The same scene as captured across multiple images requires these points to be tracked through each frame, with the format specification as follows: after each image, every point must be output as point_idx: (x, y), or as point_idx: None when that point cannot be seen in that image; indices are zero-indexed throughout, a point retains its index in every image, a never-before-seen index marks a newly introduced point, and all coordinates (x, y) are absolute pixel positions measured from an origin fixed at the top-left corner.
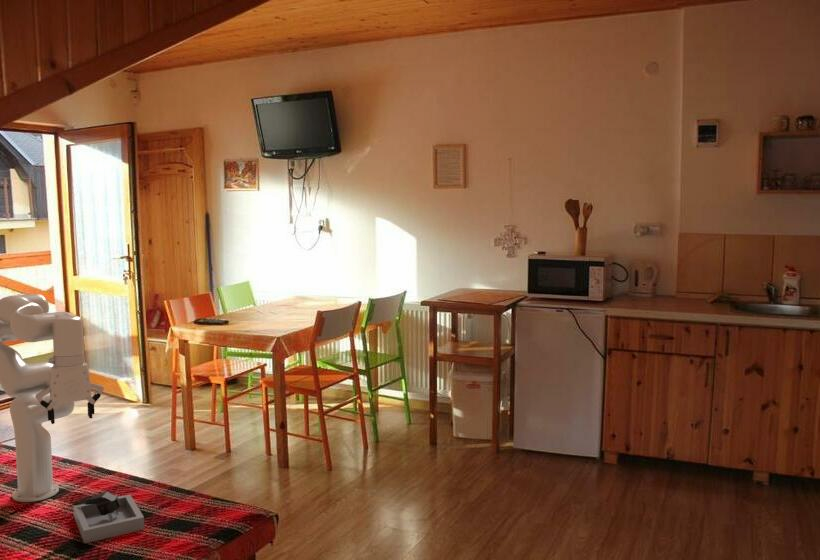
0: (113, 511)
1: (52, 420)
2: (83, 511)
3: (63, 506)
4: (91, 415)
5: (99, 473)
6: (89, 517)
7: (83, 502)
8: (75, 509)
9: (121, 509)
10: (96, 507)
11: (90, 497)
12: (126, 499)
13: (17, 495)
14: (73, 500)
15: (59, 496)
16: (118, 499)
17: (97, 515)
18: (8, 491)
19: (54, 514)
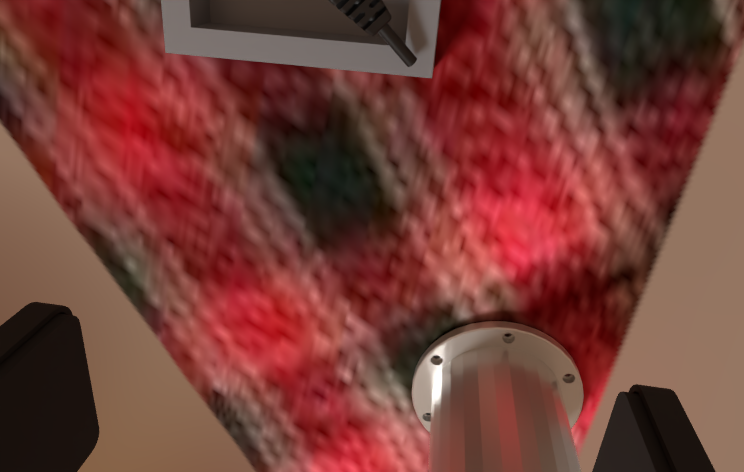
0: (269, 3)
1: (679, 429)
2: None
3: (440, 216)
4: (17, 324)
5: (253, 421)
6: None
7: (392, 30)
8: (435, 26)
9: (232, 2)
10: (334, 37)
11: (354, 14)
12: (190, 1)
13: (568, 393)
14: (390, 249)
15: (427, 317)
16: None
17: None
18: None
19: (493, 159)
